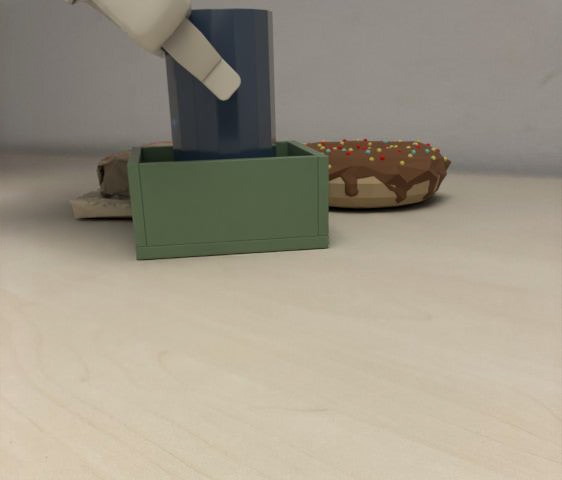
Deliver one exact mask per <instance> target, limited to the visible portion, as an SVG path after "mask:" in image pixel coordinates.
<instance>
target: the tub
mask: <svg viewBox="0 0 562 480" xmlns="http://www.w3.org/2000/svg"><path fill="white" fill-rule="evenodd" d="M303 144H304V143H301V142H299V141H297V140H276V157H265V158H243V159H220V160H197V161H175V162H174V159H173V147H172V146H147V147H141V146H132V147H131V149H132V150H131V149H130V150H131V153H130V157H129V160H128V164H127V172H128V181H129V190H130V199H131V209H132V218H131V219H132V226H133V235H134V246H135V254H136V260H154V259H156V260H158V259H172V258H188V257H204V256H220V255H233V254H235V255H237V254H250V253H266V252H267V253H269V252H282V251H299V250H315V249H328V248H329V245H330V244H329V240H330V239H329V230H330V229H329V219H330V218H329V215H330V214H329V213H330V212H329V207H330V206H329V156H327V155H325V154H323V153H321V152H318V151H316V150H314V149H312V148H310V147H308V146H306V145H303Z"/></svg>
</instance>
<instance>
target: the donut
mask: <svg viewBox="0 0 562 480" xmlns="http://www.w3.org/2000/svg"><path fill="white" fill-rule="evenodd" d="M302 144H303V145H306V146H308V147H310V148H312V149H314V150H316V151H318V152H321V153H323V154H325V155H327V156H329V207H331V208H341V209H384V208H393V207H395V208H396V207H400V206H407V205H411V204H417V203H420V202H423V201H426V200H427V199H428V198H430V197H432V196H433V195H434V194H435V193H437V192H438V191H439V189H440V187H441V185H442V183H443V181H444V180H445V178H446V176H448V172H447V171H448V169H449V167H450V165H451V164H452V161H451V160H450V159H448V157H447V156H443V155H442V153H441V150H440V149H439V148H435V147H433V146H431V144H430V143H429V142H426V143H423V142H421V140H420V139H417V140H415V139H414V138H412V139H410V140H409V141H408V140H407V141H405V140H404V141H403V140H402V139H398V140H397V141H395V140H394V141H391V140H390V141H389V140H387V139H385V140H368V139H367V138H363V140H360V138H356V139H355V140H347V139H346V138H343V139H342V140H339V141H326V139H322V140H321V141H318V142H316V141H315V142H308V143H302Z"/></svg>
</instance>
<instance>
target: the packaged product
mask: <svg viewBox="0 0 562 480" xmlns="http://www.w3.org/2000/svg"><path fill="white" fill-rule="evenodd" d="M147 146H172V141H158V142H151V143H149V144H146V145H140V147H147ZM131 150H132V148H131V149H128V150H125V151H121V152H117V153H115V154H112V155H109V156H106V157H104V158H102V159H101V160H99V161H98V162H97V165H96V175H97V179H98V185H99V188H98V189H97V190H91V191H89V192H86V193H84V194H82V195H80V196H77V197H75V198H72V199H70V201H69V202H70V206H71V208H72V211H73V212H72V213H73V215H74V219H85V218H90V219H92V218H93V219H94V218H95V219H96V218H97V219H98V218H99V219H102V218H104V219H107V218H108V219H114V218H115V219H133V218H132V209H131V199H130V190H129V181H128V172H127V164H128V160H129V157H130V153H131Z"/></svg>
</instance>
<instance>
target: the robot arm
mask: <svg viewBox="0 0 562 480" xmlns="http://www.w3.org/2000/svg"><path fill="white" fill-rule="evenodd" d="M64 1H65V2H66V3H67V4H68V5H69V6H75V5H76V4H78V3H80V2H83V3H85V4H87V5H88V6H90V7H92V8H93V9H94V10H96V11H97V12H99V13H100V14H101V15H102V16H104V17H105V18H106V19H108V20H109V21H110V22H112V23H113V24H114V25H115V26H117V27H118V28H119V29H121V30H122V31H123V32H124V33H125V34H126V35H127V37H129V38H130V39H131V40H132V41H133V42H135V44H136V45H138V46H139V47H140V48H142V50H144V51H145V52H148V53H151V54H152V55H154V56H156V57H158V58H160V59H165V51H164V49H165V50H166V51H167V52H168V53H169V54H170V55H171V56H172V57H173V58H174V59H175V60H176V61H177V62H178V63H179V64H180V65H182V66H183V67H184V68H185V69H186V70H188V71H189V72H190V73H191V74H192V75H194V76H195V77H196V78H197V79H198V80H200V81H201V82H202V83H203V84H204V85H205V86H206V87H207V88H208V89H209V90H210V91H211V92H212V93H213V94H214V95H215V96H217V97H218V98H219V99H220V100H223V101H224V100H227V99H229V98H230V97H231V95H232V94H233V93H234V92H235V91H236V90H237V88H238V87H239V86H240V84H241V79H240V77H239V75H238V74H237V73H236V72H235V71H234V70H233V69H232V68H231V67H230V66H229V65H228V64H227V63H226V62H225V61H224V60H223V59H222V58H221V56H220V55H219V54H218V53H217V51H216V50H215V49H214V48H213V46H212V45H211V44H210V43H209V42H208V40H207V39H206V38H205V37H204V35H203V34H202V33H201V32H200V31H199V30H198V29H197V28H196V27H195V26H194V25H193V24H192V23H191V22H190V21H189V20H188V18H189V17H190V15H191V10H192V0H64Z"/></svg>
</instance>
